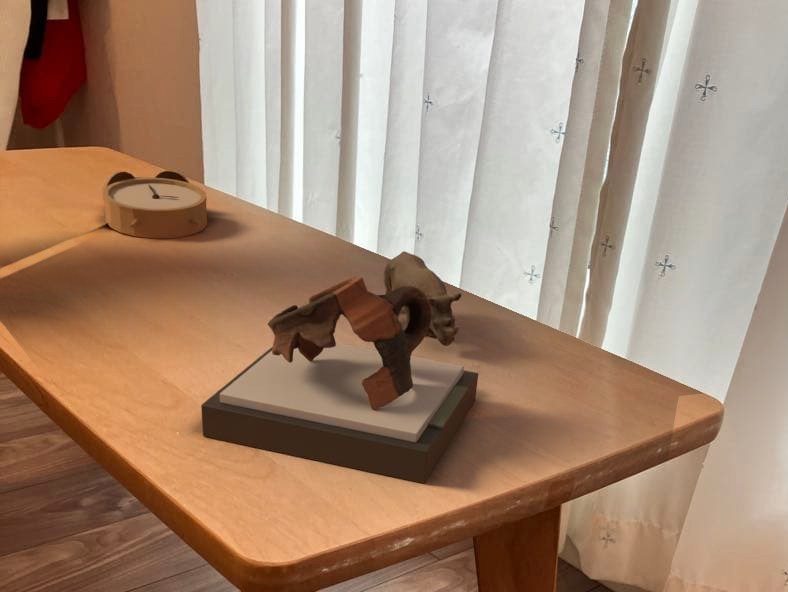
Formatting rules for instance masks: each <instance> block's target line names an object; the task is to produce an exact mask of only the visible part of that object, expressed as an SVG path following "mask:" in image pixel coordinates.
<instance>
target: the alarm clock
mask: <svg viewBox="0 0 788 592" xmlns="http://www.w3.org/2000/svg"><path fill="white" fill-rule="evenodd" d="M101 196H102V199H103V202H104V210H105V222H107V223H106V224H107V225H108V227H110V228H111V229H112V230H115V231H117V232H119V233H121V234H124V235H129V236H132V237H136V238H137V237H138V238H146V239H173V238H183V237H188V236H191V235H195V234H197V233H199V232H201V231H202V230H204V229H205V228H206V226H207V225H208V219H207V216H208V215H207V200H208V199H207V198H208V197H207V194H206V191H204V189H203V188H201V187H200V186H197V185H195V184H193V183H191V182H190V181H189V179H187V177H186V176H185V175H184V174H183V173H181V172H180V171H175V170H172V169H171V170H169V169H168V170H167V169H166V170H163V171H161V172H159V173H158V174H157V175H156V176H155V177H151V176H137V177H136V176H134V175H133V174H132V173H130V172H128V171H122V170H121V171H118V170H117V171H114V172H112V173H110V174H109V175H108V176H106V178H105V179H104V181H103V184H102V187H101Z"/></svg>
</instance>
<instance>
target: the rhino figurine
mask: <svg viewBox="0 0 788 592" xmlns="http://www.w3.org/2000/svg"><path fill="white" fill-rule="evenodd" d="M383 284H384V287H385V293H384V294H387V293H389V292H391V291H393V290H395V289H398V288H400V287H404V286H413V287H416V288H418V289H419V290H421V291H422V292H423V293H424V294H425V295H426V297H427V299H428V300H429V302H430V305H431V311H432V318H431V323H430V327H429V330H428V332H427V334H426V335H428V337H436V338H437V341H439V343H440V344H441V345H442V346H444V347H449V346H451V345H452V344H453V342H454V341H455V339H456V338H455V336H456V335H457V334H458V333H459V329H460V327H459V325H456V326H455V322H456V319H455V316H454V315H453V309H452V303H453V302H457V301H459V300H460V299H461V297H462V292H459V293H456V294H451V295H450V294H448V291H447V288H446V286H445V283H444V282H443V280H441V278H440V277H439V276H438V275H437V274H436V273H435V272H434V271H433V270H432V269H429V267H428V266H427V265H426V263H425V261H424V260H423V258H421V257H419V256H418V255H415V254H412V253H410V252H407V251H405V250H404V251H402V252H401V253H399V254H398V255H396V256H394V257H393V258H391V260H389V261H388V262H387V264H386V266H385V269H384V272H383ZM402 308H403V309H404V312H405V316H406V320H405V323H404V324H403V325H402V330H403V331H405V329H406V327H407V325H408V323H409V319H410V312H409V309H408V307H407V306H403V307H402Z"/></svg>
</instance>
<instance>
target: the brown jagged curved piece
mask: <svg viewBox="0 0 788 592" xmlns="http://www.w3.org/2000/svg"><path fill="white" fill-rule="evenodd" d="M403 306H407V307H408V309H409V312H410V319H409V323H408V325H407V327H406V329H405V331H403V330H402V327H403V324H402V322H400V320H399V316H400V312H401V311H402V309H403V308H404V307H403ZM341 315H342V316H343V317H344V318H345V319H346V320H347V321H348V323H349V325H350V327H351V329H352V332H353V334H355V335H356V336H357V337H358V338H359V339H360V340H362V341H363V342H366V343H373V345H374V349H376V350H377V351H378V353H379V354H380V356H381V358H382V362H383V367H382V368H380V369H379V370H378V371H377V372H375V373H374V374H372V375H371V376H369V377H368V378H365V379H363V381H362V386H363V388H364V390H365V392H366V393H367V395H368V399H369V402H370V405H371V408H372V409H373V410H375V409H378V408H380V407H383V406H385V405H386V404H388V403H391V402H392V401H393V400H395V399H397V398H398V397H399V396H402V395H403V394H404V393H405V392H408V391H409V390H410V389H411V388H412V387H413V381H412V377H411V365H410V359H411V357H410V356H412V354H413V352H414V351H415V349H417V347H419V346H420V344H421V343H422V342H423V340H424V339H425V337H426V336H427V335H428V334H427V332H428V330H429V327H430V323H431V318H432V311H431V305H430V302H429V300H428V299H427V297H426V295H425V294H424V293H423V292H422V291H421V290H419V289H418V288H416V287H413V286H404V287H400V288H398V289H395V290H393V291H391V292H389V293H387V294H385V293H384V294H377V293H373V292H371V291H369V290H368V288H367V286H366V283H365V281H364V277H362V276H358V277H357V276H353V277H350V278H348V279H346V280H343V281H341V282H338V283H336V284H334V285H332V286H329V288H326V289H324V290H322V291H320V292H318V293H316V294H313V295H312V296H310V297H309V298H308V303H307V304H304V305H303V306H301V307H298V305H297V304H294V305H291V306H289V307H287V308H285V309H284V310H281V312H279V313H277V314H275V315H274V316H273V317H272V318H271V319H270V320H269V321H268V323H267V326H268V327H269V328H270V330H271V331H272V334H273V335H274V338H273V343H272V347H273V349H272V354H273V355H278V356H279V355H280V354H282V355H283V357H284V358H285V359H286V360H287V361H288V362H290V363H291V362H292V361H293V351H294V349H296V348H298V349H299V352H300V354H302V355H303V356H304V357H305V358H306V359H307V360H309V361H313V359H314V358H315V357H317V356H318V355H319V354H320V353H321V352H322V351H323V349H324V348H332V347H335V346H336V342H337V341H336V340H335V339H336V338H335V335H334V334H335V332H336V327H337V323H338V321H339V319H340V317H341Z"/></svg>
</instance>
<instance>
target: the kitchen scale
mask: <svg viewBox="0 0 788 592" xmlns="http://www.w3.org/2000/svg"><path fill="white" fill-rule="evenodd" d="M335 342H336V346H335V347H332V348H324V349H323V351H322V352H321V353H320V354H319V355H318V356H317V357H315V358H314V359H313V361H309V360H307V359H306V358H305V357H304V356H303V355H302V354H300V352H299V349H298V348H296V349H294V351H293V361H292V362H291V363H290V362H288V361H287V360H286V359H285V358H284V357H283V355H282V354H280V355H279V356H278V355H273V354H272V349H273V346H271V347H270V348H269V349H268V350H266V351H265V352H264V353H263V354H262V355H260V356H259V357H258V358H257V359H255V360H254V361H253V362H251V364H249V365H248V366H246V368H244V369H243V370H242V371H241V372H240V373H239V374H237V375H236V376H235V377H233V378H232V379H231V380H230V381H229V382H227V383H226V384H225V385H224V386H223V387H221V388H220V389H219V390H218V391H216V393H214V394H213V395H212V396H210V397H209V398H208V399H207V400H206V401H204V402H203V403H201V405H200V406H201V426H202V436H203V437H206V438H210V439H215V440H219V441H224V442H228V443H233V444H238V445H243V446H247V447H250V448H251V447H252V448H256V449H262V450H266V451H271V452H275V453H280V454H285V455H289V456H294V457H299V458H304V459H308V460H313V461H318V462H322V463H327V464H332V465H336V466H341V467H346V468H350V469H355V470H360V471H365V472H368V473H373V474H378V475H383V476H386V477H387V476H388V477H393V478H395V479H396V478H397V479H402V480H406V481H411V482H414V483H415V482H416V483H420V484H425V483H426V481H427V480H428V478H430V477H429V476H430V475H431V473H432V472H433V470H434V468H435V467H436V466H437V464H438V462H439V461H440V459H441V457H442V456H443V455H444V452H445V450H446V449H447V447H448V446H449V444H450V443H451V441H452V440H453V438H454V436H455V434H456V433H457V432H458V430H459V428H460V427H461V425H462V423H463V422H464V420H465V418H466V416H467V415H468V413H469V412H470V411H471V408H472V407H473V406H474V403H475V402H476V397H477V389H478V381H479V373H478V372H475V371H469V370H465V365H461V364H456V363H450V362H446V361H440V360H435V359H430V358H424V357H418V356H413V355H411V356H410V357H411V359H410V365H411V377H412V381H413V387H412V388H411V389H410V390H409V391H408V392H405V393H404V394H403V395H402V396H399V397H398V398H397V399H395V400H393V401H392V402H391V403H388V404H386V405H385V406H383V407H380V408H378V409H375V410H373V409H372V408H371V405H370V402H369V399H368V395H367V393H366V392H365V390H364V388H363V386H362V381H363V379H365V378H368V377H369V376H371V375H372V374H374V373H375V372H377V371H378V370H379V369H380V368H382V367H383V362H382V358H381V356H380V354H379V353H378V351H377V349H376V348H369V347H364V346H358V345H353V344H349V343H348V344H347V343H344V342H343V343H342V342H337V341H335Z"/></svg>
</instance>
